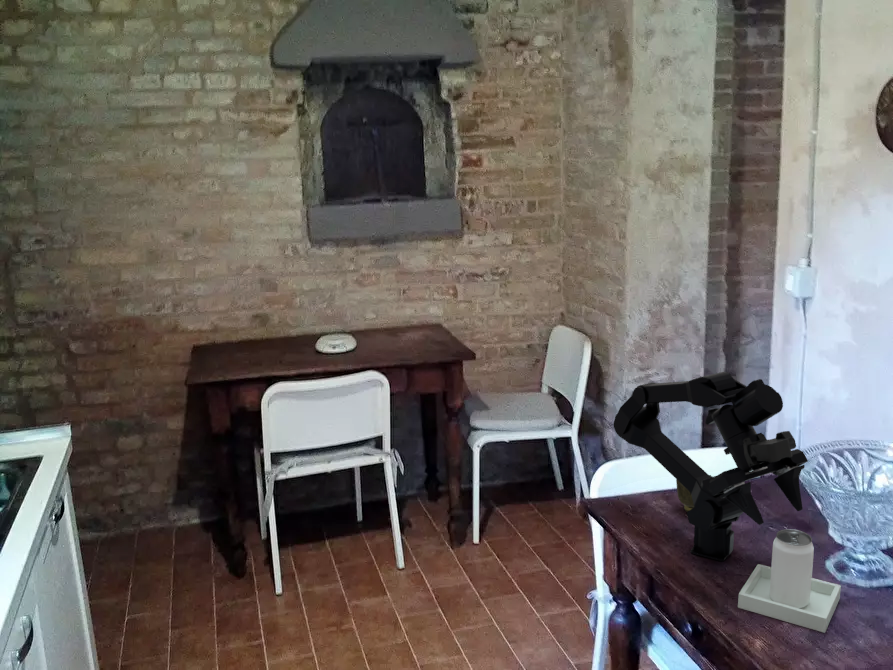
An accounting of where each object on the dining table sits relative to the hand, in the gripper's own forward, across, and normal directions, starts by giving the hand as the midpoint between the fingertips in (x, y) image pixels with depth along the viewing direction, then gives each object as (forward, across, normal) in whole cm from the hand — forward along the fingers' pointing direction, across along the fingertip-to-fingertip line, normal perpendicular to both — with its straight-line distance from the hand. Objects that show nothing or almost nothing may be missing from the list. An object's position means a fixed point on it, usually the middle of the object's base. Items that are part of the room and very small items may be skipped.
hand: (781, 517), depth 148 cm
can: (+13, -3, +5) cm, 14 cm away
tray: (+13, -3, +5) cm, 15 cm away
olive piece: (-9, +7, +32) cm, 34 cm away
